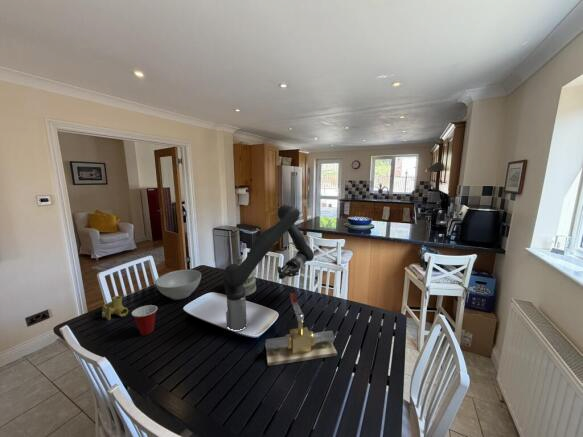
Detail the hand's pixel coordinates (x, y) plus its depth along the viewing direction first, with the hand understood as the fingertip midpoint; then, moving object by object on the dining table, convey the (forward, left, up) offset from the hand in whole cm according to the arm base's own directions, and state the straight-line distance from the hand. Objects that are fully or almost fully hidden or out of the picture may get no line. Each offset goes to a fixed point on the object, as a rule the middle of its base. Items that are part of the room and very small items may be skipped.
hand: (280, 277), depth 113 cm
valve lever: (+8, -6, -14) cm, 17 cm away
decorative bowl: (-70, +29, -28) cm, 80 cm away
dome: (-32, +38, -28) cm, 57 cm away
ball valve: (-95, +5, -28) cm, 99 cm away
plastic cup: (-67, -7, -28) cm, 73 cm away
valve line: (+10, -14, -26) cm, 32 cm away
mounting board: (+10, -14, -28) cm, 33 cm away
